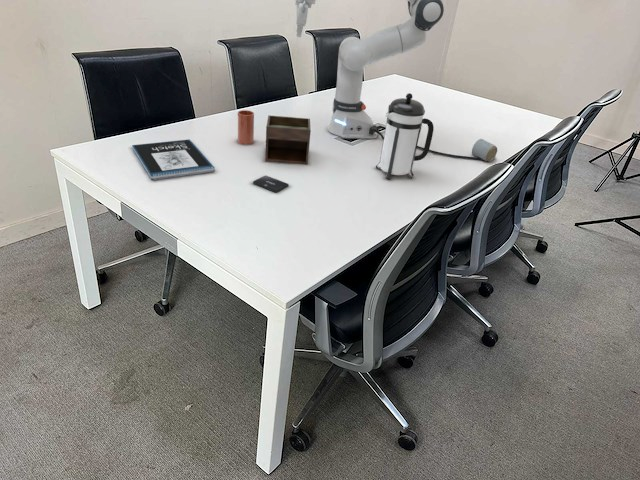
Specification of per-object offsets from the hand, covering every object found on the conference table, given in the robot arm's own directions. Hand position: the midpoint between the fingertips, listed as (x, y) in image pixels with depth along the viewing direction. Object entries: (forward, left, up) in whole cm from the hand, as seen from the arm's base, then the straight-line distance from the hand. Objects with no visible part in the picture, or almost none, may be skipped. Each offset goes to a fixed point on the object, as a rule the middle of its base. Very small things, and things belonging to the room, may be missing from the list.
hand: (298, 34), depth 187 cm
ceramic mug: (-82, +20, -39) cm, 93 cm away
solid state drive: (+7, +60, -39) cm, 72 cm away
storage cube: (+2, +34, -39) cm, 52 cm away
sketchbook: (+43, +45, -39) cm, 73 cm away
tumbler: (+19, +22, -39) cm, 48 cm away
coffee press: (-40, +42, -39) cm, 70 cm away
